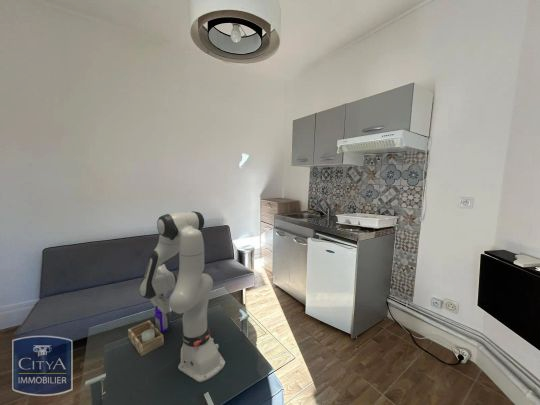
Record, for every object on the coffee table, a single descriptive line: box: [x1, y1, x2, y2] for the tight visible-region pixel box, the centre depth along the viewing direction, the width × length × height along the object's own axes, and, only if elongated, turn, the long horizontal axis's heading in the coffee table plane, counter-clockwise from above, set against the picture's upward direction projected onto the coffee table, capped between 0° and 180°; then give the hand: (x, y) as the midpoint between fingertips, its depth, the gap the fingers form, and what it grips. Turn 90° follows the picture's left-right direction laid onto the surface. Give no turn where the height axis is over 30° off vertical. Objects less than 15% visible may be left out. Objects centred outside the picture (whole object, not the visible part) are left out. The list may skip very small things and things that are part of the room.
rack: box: [127, 320, 165, 357], centre depth 124 cm, size 20×11×6 cm, turn 46°
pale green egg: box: [142, 329, 155, 344], centre depth 121 cm, size 6×6×7 cm
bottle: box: [154, 303, 169, 333], centre depth 134 cm, size 7×6×17 cm
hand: (160, 314), depth 134 cm, fingers open, 8 cm apart
